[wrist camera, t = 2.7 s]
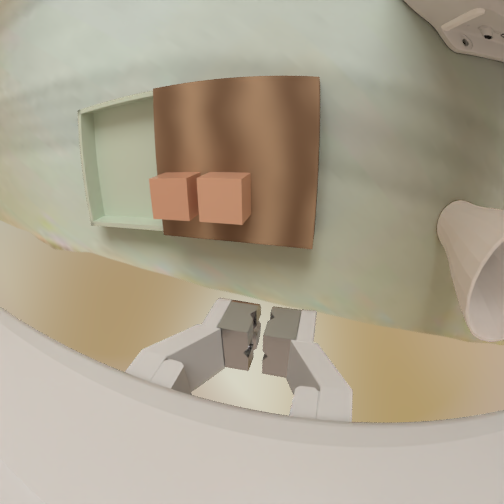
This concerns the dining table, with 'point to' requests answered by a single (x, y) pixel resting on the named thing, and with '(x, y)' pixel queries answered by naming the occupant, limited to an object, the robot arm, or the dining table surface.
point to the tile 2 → (224, 197)
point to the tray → (119, 161)
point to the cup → (476, 264)
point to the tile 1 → (174, 196)
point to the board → (246, 151)
